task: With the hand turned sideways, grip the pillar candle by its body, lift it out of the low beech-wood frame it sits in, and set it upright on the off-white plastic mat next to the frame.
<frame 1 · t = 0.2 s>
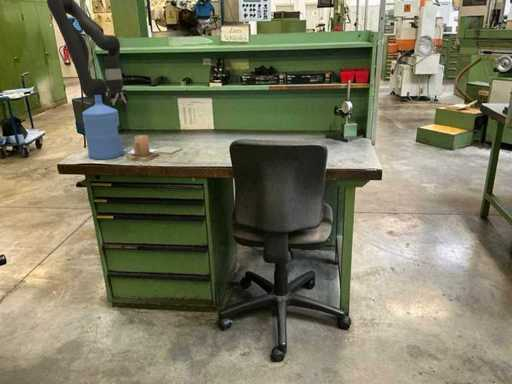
hand: (119, 111, 208), 17 cm above the table, tool pointing down, fingers open, 8 cm apart
wooden frame: (143, 157, 191), on the table
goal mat: (168, 151, 202), on the table
pillar candle: (140, 147, 189), in the wooden frame
water jug: (106, 155, 196), on the table
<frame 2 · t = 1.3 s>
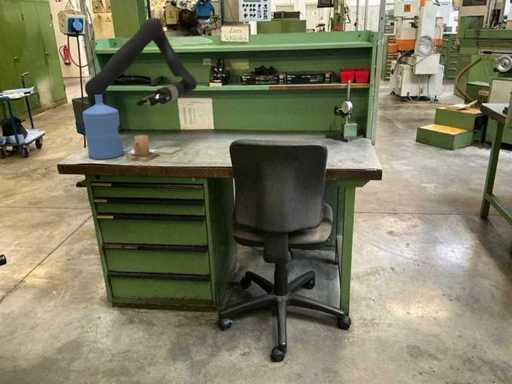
hand: (144, 104, 192), 23 cm above the table, tool horizontal, fingers open, 8 cm apart
nothing on the table moved.
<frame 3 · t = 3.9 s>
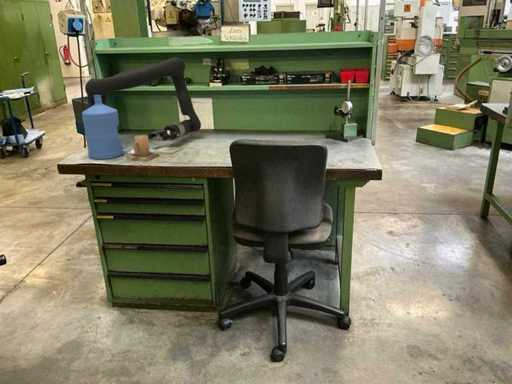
hand: (155, 137, 198), 7 cm above the table, tool horizontal, fingers open, 8 cm apart
nothing on the table moved.
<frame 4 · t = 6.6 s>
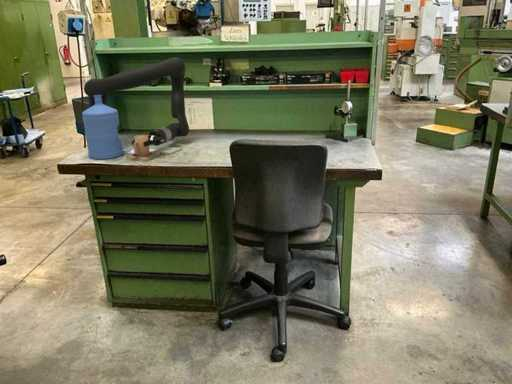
hand: (138, 143, 187), 7 cm above the table, tool horizontal, fingers closed on pillar candle, 6 cm apart
pillar candle: (140, 147, 189), in the wooden frame, touching gripper
everything else where it was.
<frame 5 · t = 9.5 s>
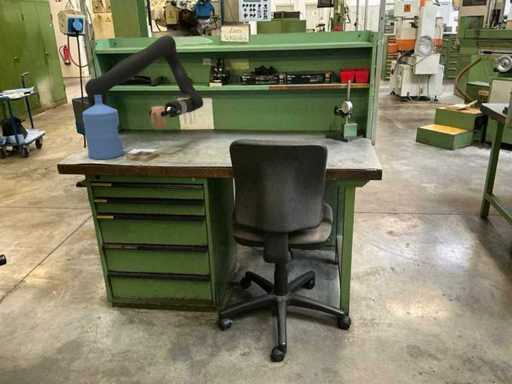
hand: (155, 114, 191), 19 cm above the table, tool horizontal, fingers closed on pillar candle, 6 cm apart
pillar candle: (157, 118, 193), point 17 cm above the table, touching gripper
everything else where it was.
when the fingers open (9 cm above the table, at t = 12.2 s): pillar candle drops 1 cm, resting on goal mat.
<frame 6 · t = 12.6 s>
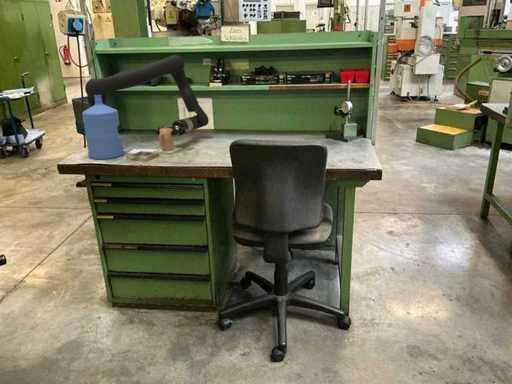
hand: (164, 133, 197), 9 cm above the table, tool horizontal, fingers open, 8 cm apart
pillar candle: (165, 139, 199), on the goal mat, point 6 cm above the table
everything else where it was.
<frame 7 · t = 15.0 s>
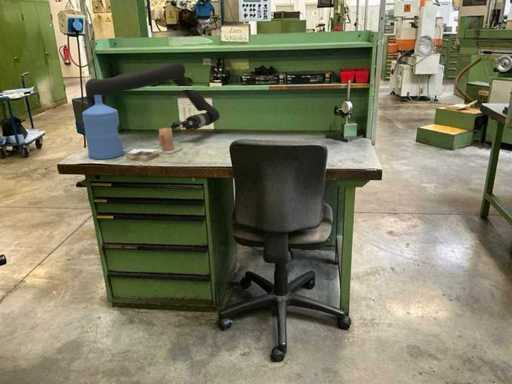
hand: (179, 127, 208), 9 cm above the table, tool horizontal, fingers open, 8 cm apart
nothing on the table moved.
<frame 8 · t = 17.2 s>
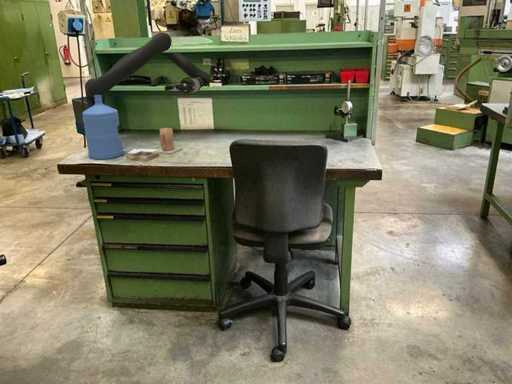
hand: (172, 89, 206), 28 cm above the table, tool horizontal, fingers open, 8 cm apart
nothing on the table moved.
at the end: pillar candle 0.3 cm from the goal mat (horizontally); pillar candle tilted 2°; the gripper is holding nothing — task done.
